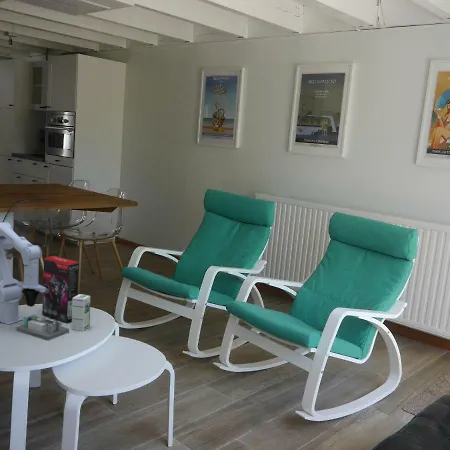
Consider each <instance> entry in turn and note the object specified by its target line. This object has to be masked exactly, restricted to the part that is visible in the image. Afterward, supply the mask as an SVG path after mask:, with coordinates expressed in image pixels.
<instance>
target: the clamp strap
mask: <svg viewBox="0 0 450 450" xmlns="http://www.w3.org/2000/svg"><path fill="white" fill-rule="evenodd" d="M33 315H34V314H31V315H30V316H27V318H29V321H30V320H34V321H38V322H41V323H45V324H52V325H54V326H55V325H58V322H56V321H55V320H53V321H51V320H52V319H49V320H47V319H48V318H47V317H44V316H37V317H36V316H33ZM54 321H55V322H54Z"/></svg>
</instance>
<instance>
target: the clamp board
mask: <svg viewBox="0 0 450 450" xmlns="http://www.w3.org/2000/svg"><path fill="white" fill-rule="evenodd" d="M32 315H33V316H36V317H38V316H37V315H38V314H37V315H36V314H32ZM46 319H47V320H51V321H54V322H58V325H55V326H54V325H52V324H45V323H41V322H38V321H34V320H30V321H29V318H28V316H27V317H23V324H21V325H18V326H16V327H15V328H16V329H15V330H16V331H17V332H20V333H24V334H26V335H31V336H32V337H36V338H39V339H43V340H46V341H50V340H53V339H56V338H58V337H60V336H64V335H65V334H68V333H70V328H68V327H64V326H62V323H63V321H60V320H57V321H55V320H52V319H49V318H46Z"/></svg>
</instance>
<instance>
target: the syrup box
mask: <svg viewBox="0 0 450 450" xmlns="http://www.w3.org/2000/svg"><path fill="white" fill-rule="evenodd" d="M90 317H91V295H87V294H82V293H81V294H80V293H78V295H77V296H75V297H73V300H72V321H71V330H74V331H75V330H76V331H82V332H85V331H86V330H87V329H89V328H90V326H91V325H90V324H91V323H90V322H91V321H90V319H91V318H90Z"/></svg>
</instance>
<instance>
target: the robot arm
mask: <svg viewBox="0 0 450 450" xmlns="http://www.w3.org/2000/svg"><path fill="white" fill-rule="evenodd" d="M7 240H8V241H9V242H11V243H12V247H13V248H14V249H15V250H16V251H18V252H19V253H20V255H21V259H22V264H23V281H19V280H18V279H15V278H13V274H12V272H11V269H10V265H9V261H8V259H7V256H6V253H5V249H4V247H3V246H4V245H3V244H4V243H6V241H7ZM42 257H43V251H42V249H41V246H39V245H37V244H36V245H34V244H32V243H31V242H29V240H27V239H26V237H25V236H19V235H18V234H17V233H16V232H15V231H14V230H13V228H12V225H11V224H10V223H9V222H8V221H3V222H0V322H1V323H3V324H5V325H11V324H14V323H17V322H20V321H24V318H21V317H19V305H20V304H19V301H21V299H22V298H23V296H24V298H25V302H26V305H27V307H30V308H32V307H34V306H35V305H36V304H35V303H36V301H37V298H38V296H39V294H40V293H42V294H43V292H46V287H43V285H41V284H39V273H40V272H39V268H40V266H39V264H40V263H39V261H40V260H39V259H41V258H42Z"/></svg>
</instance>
